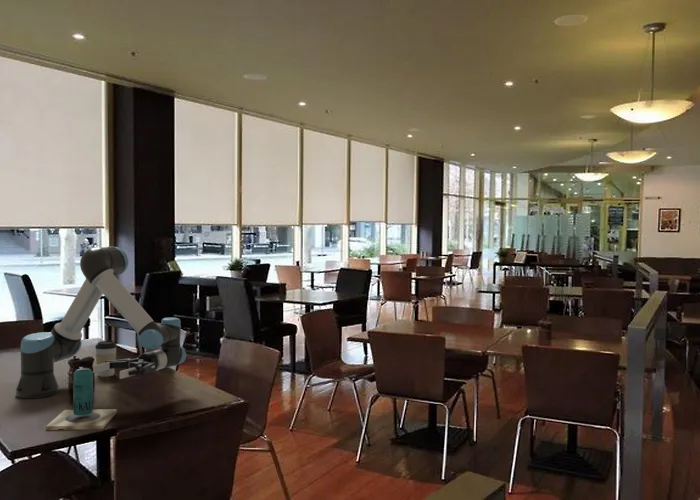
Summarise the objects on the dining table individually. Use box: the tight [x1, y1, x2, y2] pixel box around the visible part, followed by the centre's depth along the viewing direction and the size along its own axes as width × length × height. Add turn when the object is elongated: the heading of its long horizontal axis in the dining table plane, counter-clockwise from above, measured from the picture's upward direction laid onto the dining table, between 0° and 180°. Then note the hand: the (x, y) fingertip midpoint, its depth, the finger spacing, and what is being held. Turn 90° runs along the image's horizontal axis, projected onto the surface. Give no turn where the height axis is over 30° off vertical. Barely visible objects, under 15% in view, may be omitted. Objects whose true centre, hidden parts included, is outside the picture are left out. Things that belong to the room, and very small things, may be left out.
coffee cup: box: [94, 339, 118, 378], centre depth 275 cm, size 9×9×15 cm
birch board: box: [45, 408, 118, 431], centre depth 212 cm, size 18×18×1 cm
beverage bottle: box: [72, 358, 94, 415], centre depth 212 cm, size 6×7×20 cm
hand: (106, 372), depth 220 cm, fingers open, 13 cm apart
